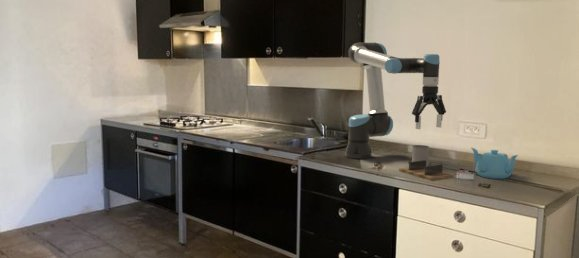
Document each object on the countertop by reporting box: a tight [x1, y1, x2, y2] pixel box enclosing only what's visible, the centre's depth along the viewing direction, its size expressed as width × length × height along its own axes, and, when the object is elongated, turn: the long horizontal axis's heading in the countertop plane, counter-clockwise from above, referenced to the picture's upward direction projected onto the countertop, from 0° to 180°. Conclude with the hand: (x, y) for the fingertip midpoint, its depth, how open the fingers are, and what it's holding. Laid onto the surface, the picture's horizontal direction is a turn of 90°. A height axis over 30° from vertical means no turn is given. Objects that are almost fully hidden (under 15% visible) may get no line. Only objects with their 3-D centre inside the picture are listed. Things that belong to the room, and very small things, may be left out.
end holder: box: [398, 160, 454, 181], centre depth 233 cm, size 22×14×5 cm, turn 27°
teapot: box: [470, 147, 519, 180], centre depth 230 cm, size 17×19×12 cm
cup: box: [411, 144, 430, 166], centre depth 252 cm, size 8×8×10 cm
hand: (428, 128), depth 245 cm, fingers open, 13 cm apart
